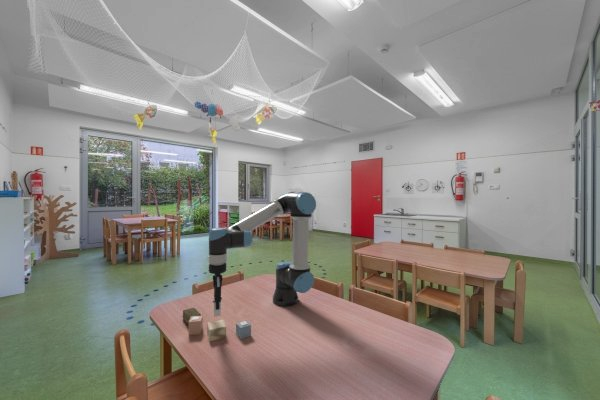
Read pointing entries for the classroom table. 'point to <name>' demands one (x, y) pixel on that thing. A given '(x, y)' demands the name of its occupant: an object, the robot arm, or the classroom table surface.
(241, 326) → the slate block
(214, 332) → the oak block
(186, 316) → the stone block
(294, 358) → the classroom table surface
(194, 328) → the terracotta block
